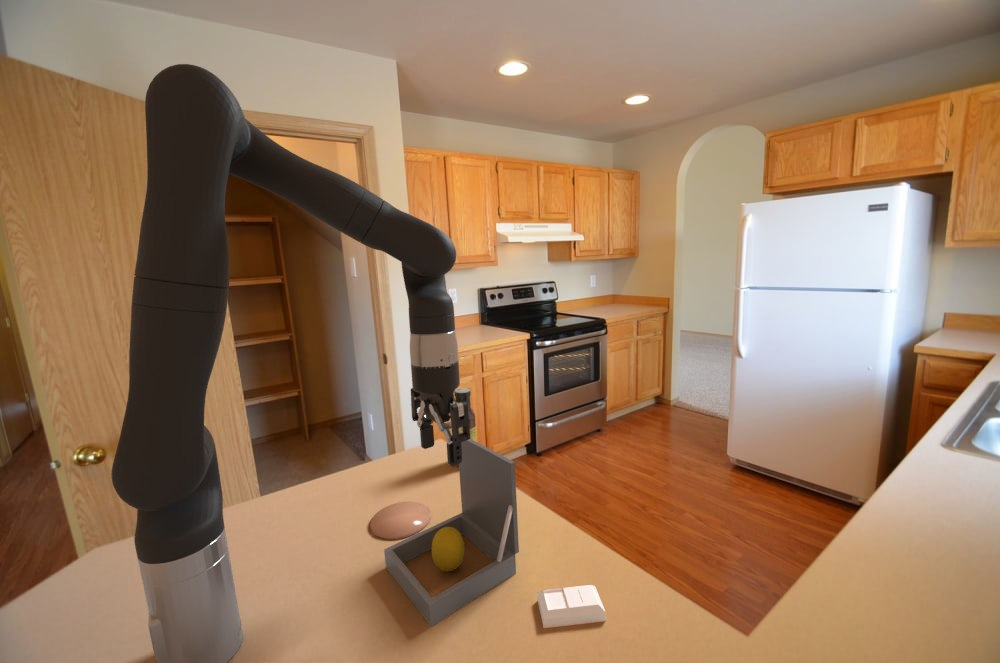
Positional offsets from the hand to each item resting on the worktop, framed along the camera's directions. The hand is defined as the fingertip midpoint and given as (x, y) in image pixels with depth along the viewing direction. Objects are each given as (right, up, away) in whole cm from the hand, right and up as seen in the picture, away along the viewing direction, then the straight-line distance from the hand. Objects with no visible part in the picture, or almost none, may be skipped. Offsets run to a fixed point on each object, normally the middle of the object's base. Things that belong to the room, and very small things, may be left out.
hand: (440, 455), depth 70 cm
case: (+1, -20, +2) cm, 20 cm away
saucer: (-11, -18, +17) cm, 27 cm away
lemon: (+1, -20, +2) cm, 21 cm away
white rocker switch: (+20, -21, -7) cm, 30 cm away
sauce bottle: (+1, -14, +41) cm, 43 cm away
